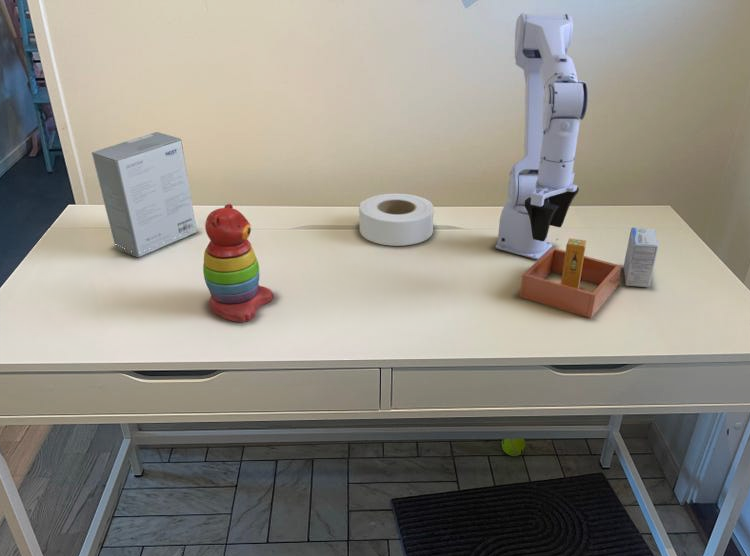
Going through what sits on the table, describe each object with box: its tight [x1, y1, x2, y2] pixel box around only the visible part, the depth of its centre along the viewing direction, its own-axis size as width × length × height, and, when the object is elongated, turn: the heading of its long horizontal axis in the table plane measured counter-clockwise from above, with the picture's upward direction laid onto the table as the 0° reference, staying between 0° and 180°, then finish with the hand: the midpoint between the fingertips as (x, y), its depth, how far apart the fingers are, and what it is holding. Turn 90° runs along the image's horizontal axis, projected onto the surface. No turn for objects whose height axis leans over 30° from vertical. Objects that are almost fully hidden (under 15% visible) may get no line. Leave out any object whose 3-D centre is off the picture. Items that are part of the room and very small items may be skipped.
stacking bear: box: [202, 203, 275, 323], centre depth 121 cm, size 11×10×18 cm
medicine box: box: [623, 227, 659, 289], centre depth 134 cm, size 8×4×9 cm, turn 168°
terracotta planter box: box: [519, 246, 622, 319], centre depth 131 cm, size 14×14×4 cm
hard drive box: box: [91, 131, 198, 258], centre depth 142 cm, size 16×8×20 cm, turn 144°
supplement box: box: [560, 237, 587, 289], centre depth 129 cm, size 3×3×10 cm
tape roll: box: [358, 193, 435, 247], centre depth 151 cm, size 16×16×6 cm
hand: (547, 232), depth 128 cm, fingers open, 7 cm apart
